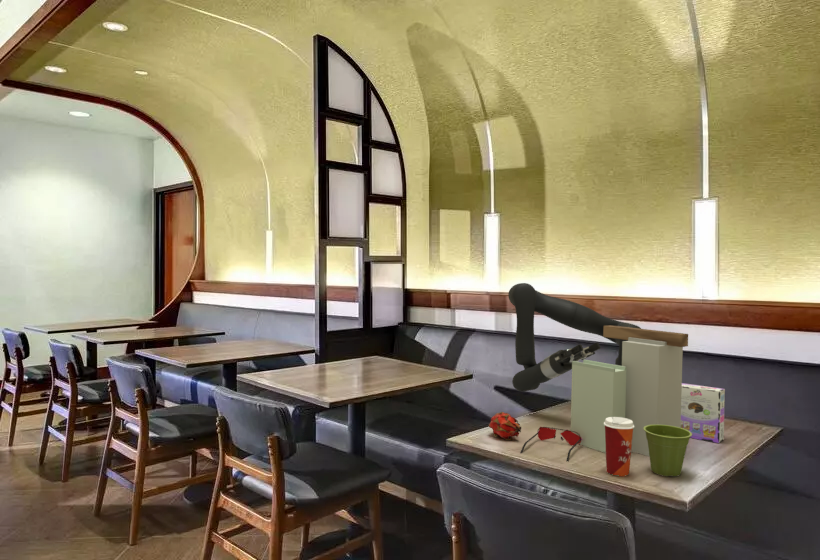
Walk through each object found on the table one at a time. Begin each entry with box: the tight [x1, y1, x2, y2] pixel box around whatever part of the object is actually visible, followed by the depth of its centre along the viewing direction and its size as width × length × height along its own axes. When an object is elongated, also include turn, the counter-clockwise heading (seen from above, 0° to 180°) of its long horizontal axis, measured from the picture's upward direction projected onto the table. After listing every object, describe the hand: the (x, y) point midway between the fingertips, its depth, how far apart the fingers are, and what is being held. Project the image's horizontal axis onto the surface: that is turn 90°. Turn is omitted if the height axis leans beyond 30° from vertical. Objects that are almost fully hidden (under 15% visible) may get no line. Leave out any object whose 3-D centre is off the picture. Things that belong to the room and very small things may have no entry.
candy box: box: [681, 382, 726, 444], centre depth 189 cm, size 14×6×16 cm, turn 47°
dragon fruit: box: [488, 411, 522, 441], centre depth 186 cm, size 8×8×12 cm
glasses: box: [519, 426, 582, 462], centre depth 175 cm, size 14×16×5 cm
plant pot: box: [643, 424, 692, 477], centre depth 156 cm, size 12×12×11 cm
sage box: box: [570, 359, 626, 454], centre depth 178 cm, size 6×15×25 cm, turn 35°
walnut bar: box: [603, 325, 689, 348], centre depth 177 cm, size 4×26×4 cm, turn 35°
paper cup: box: [604, 417, 634, 477], centre depth 156 cm, size 8×8×14 cm
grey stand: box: [622, 337, 684, 458], centre depth 175 cm, size 12×12×33 cm
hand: (590, 346), depth 193 cm, fingers open, 8 cm apart
